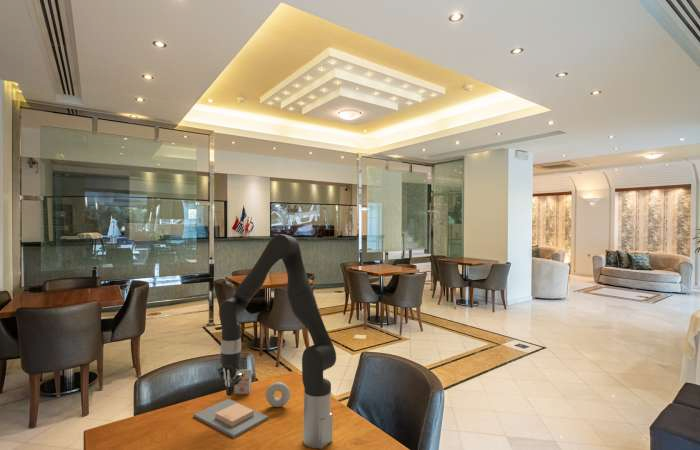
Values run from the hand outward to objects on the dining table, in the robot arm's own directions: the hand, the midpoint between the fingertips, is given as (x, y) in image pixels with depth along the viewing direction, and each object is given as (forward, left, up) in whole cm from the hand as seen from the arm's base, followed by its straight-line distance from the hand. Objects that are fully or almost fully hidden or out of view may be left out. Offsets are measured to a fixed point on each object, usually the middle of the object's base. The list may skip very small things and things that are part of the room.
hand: (229, 394), depth 141 cm
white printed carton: (+13, -17, -9) cm, 23 cm away
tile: (-3, 0, -6) cm, 7 cm away
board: (-1, 0, -8) cm, 9 cm away
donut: (-9, -17, -9) cm, 21 cm away
